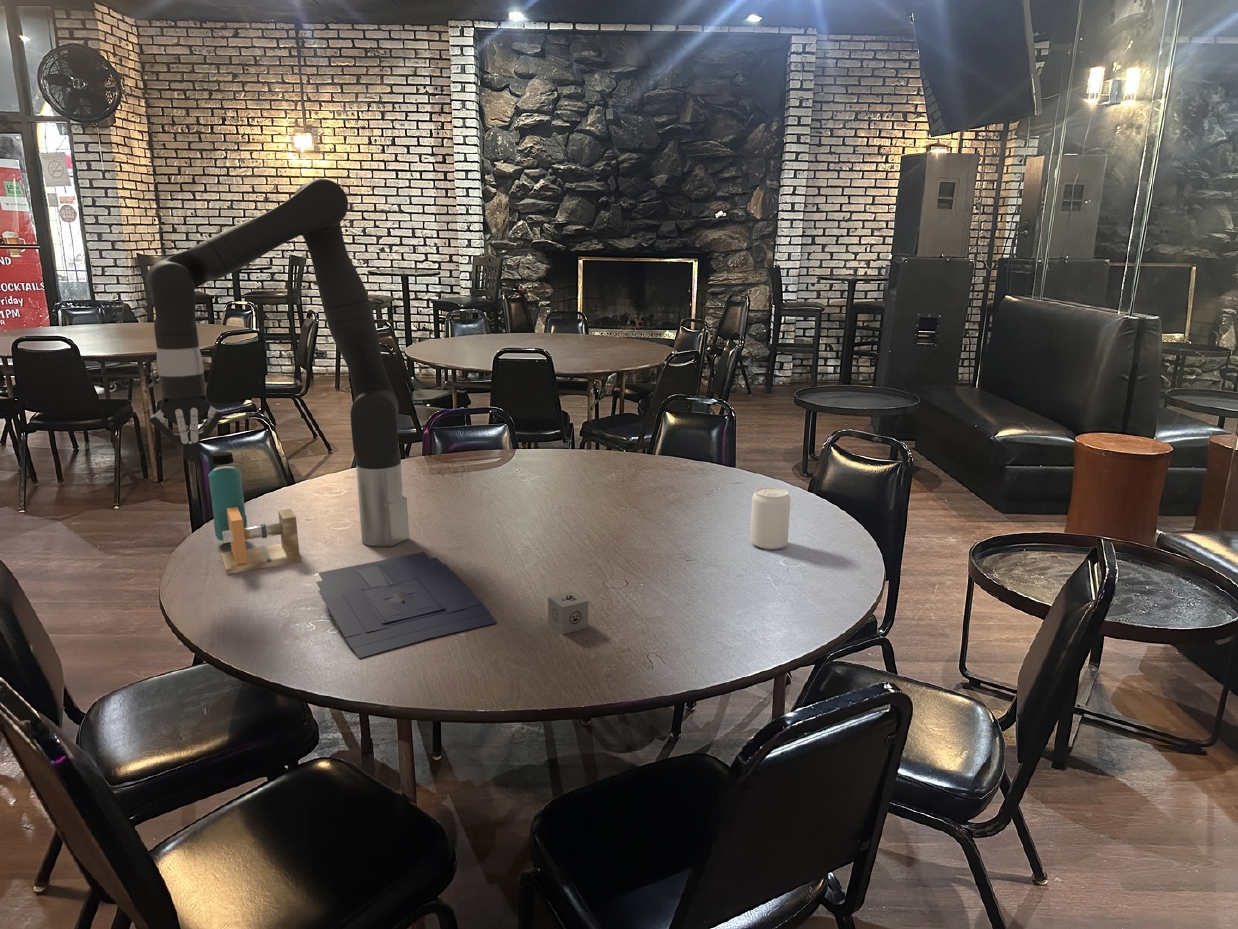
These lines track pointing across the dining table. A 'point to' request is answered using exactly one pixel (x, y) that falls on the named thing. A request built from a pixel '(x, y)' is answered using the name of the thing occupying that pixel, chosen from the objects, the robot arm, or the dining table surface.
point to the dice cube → (568, 612)
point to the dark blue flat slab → (399, 602)
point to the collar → (237, 535)
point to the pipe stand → (266, 554)
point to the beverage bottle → (225, 492)
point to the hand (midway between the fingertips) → (192, 461)
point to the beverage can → (770, 518)
